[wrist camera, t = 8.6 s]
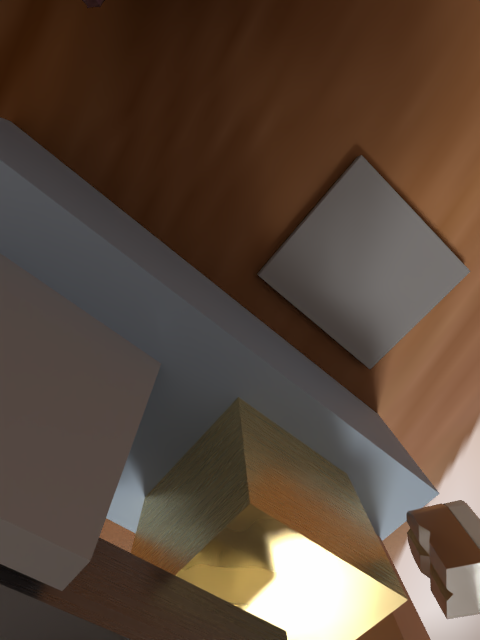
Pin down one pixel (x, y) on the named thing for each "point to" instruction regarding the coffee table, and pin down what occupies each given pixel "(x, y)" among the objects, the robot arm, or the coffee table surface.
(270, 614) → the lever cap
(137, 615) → the ball-knob lever
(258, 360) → the plane body
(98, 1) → the pine cone
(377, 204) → the mat
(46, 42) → the coffee table surface
